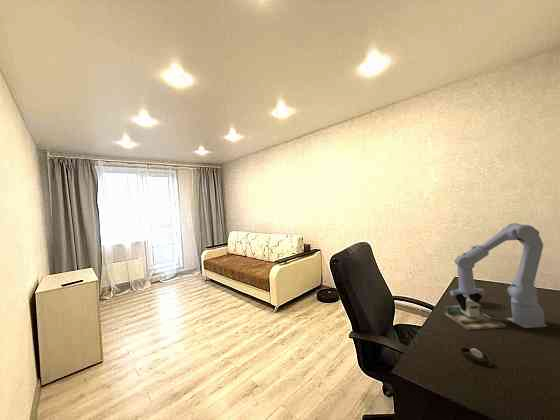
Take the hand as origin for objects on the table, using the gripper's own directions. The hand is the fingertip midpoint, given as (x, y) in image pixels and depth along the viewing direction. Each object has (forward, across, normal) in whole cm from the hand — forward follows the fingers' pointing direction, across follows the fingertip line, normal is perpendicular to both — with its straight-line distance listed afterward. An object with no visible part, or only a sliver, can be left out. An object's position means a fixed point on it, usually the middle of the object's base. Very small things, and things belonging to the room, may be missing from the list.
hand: (468, 309), depth 106 cm
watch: (+5, +20, +27) cm, 34 cm away
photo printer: (+5, -12, -15) cm, 20 cm away
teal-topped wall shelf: (+4, 0, +2) cm, 5 cm away
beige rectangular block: (+2, 0, 0) cm, 2 cm away
